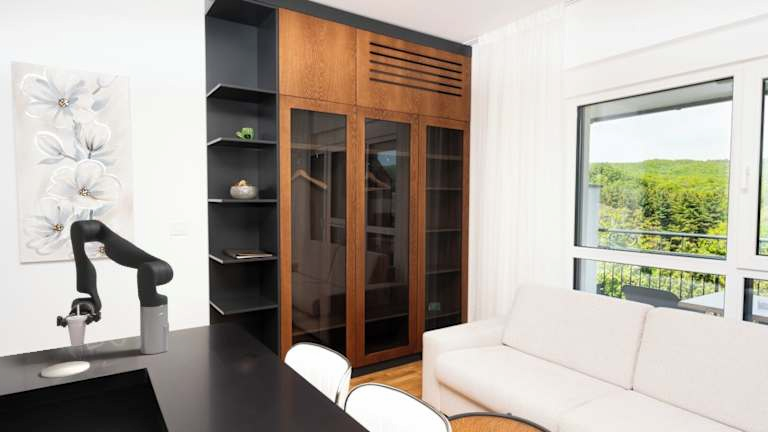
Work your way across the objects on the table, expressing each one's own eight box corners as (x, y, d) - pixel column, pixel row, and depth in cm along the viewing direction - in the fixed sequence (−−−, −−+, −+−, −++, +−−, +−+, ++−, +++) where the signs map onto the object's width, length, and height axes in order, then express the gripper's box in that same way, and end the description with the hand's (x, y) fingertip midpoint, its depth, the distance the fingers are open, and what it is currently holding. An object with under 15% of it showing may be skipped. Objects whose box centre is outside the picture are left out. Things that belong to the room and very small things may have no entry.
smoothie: (80, 347, 159) (79, 307, 158) (62, 347, 159) (60, 307, 158) (92, 341, 165) (91, 303, 165) (74, 341, 165) (73, 303, 165)
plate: (94, 361, 157) (94, 359, 157) (82, 375, 145) (82, 372, 145) (50, 365, 153) (50, 363, 153) (34, 379, 141) (34, 377, 141)
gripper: (58, 306, 171) (50, 315, 156) (103, 302, 178) (99, 310, 163) (59, 326, 171) (51, 336, 156) (103, 321, 178) (100, 331, 163)
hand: (76, 323), depth 160 cm, fingers closed on smoothie, 6 cm apart
